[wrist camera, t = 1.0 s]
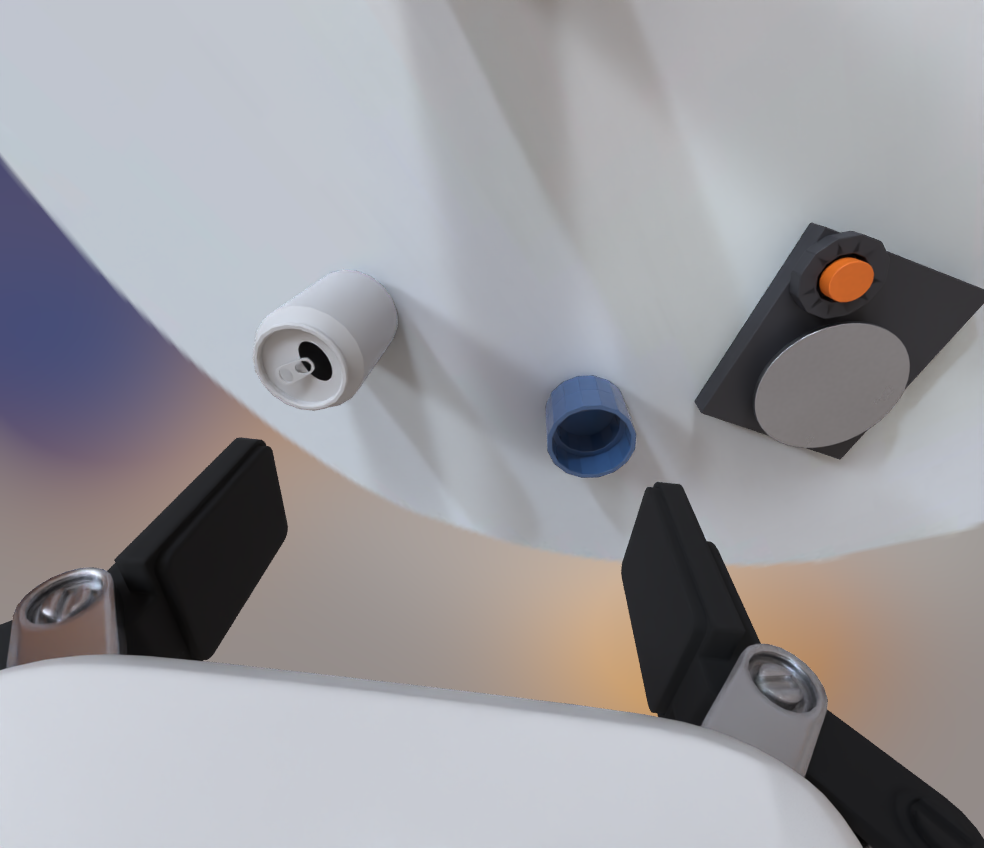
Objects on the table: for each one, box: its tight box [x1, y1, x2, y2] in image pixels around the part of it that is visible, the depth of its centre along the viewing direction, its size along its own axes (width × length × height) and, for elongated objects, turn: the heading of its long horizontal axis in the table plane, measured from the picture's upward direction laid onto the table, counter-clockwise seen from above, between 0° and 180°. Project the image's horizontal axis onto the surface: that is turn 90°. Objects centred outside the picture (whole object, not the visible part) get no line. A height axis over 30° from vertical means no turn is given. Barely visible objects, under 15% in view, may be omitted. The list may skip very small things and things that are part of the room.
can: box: [253, 270, 398, 410], centre depth 35 cm, size 8×8×12 cm
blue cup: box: [546, 375, 636, 478], centre depth 41 cm, size 7×7×6 cm
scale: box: [695, 223, 984, 459], centre depth 38 cm, size 16×14×4 cm
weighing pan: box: [753, 321, 910, 448], centre depth 37 cm, size 11×11×1 cm
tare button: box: [819, 257, 874, 302], centre depth 33 cm, size 3×3×1 cm
